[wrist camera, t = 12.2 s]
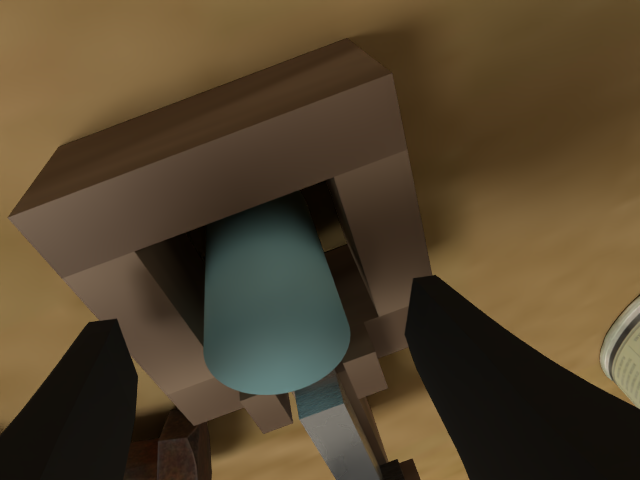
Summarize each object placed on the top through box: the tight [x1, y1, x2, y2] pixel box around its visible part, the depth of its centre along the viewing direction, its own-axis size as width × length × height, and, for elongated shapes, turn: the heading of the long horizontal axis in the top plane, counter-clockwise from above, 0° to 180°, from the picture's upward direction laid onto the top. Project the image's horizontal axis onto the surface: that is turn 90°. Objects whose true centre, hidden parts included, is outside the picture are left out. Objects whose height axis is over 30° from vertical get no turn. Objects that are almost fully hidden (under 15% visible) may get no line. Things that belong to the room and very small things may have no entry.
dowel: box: [203, 190, 350, 395], centre depth 13 cm, size 4×4×6 cm
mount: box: [8, 38, 432, 480], centre depth 16 cm, size 18×9×5 cm, turn 17°
